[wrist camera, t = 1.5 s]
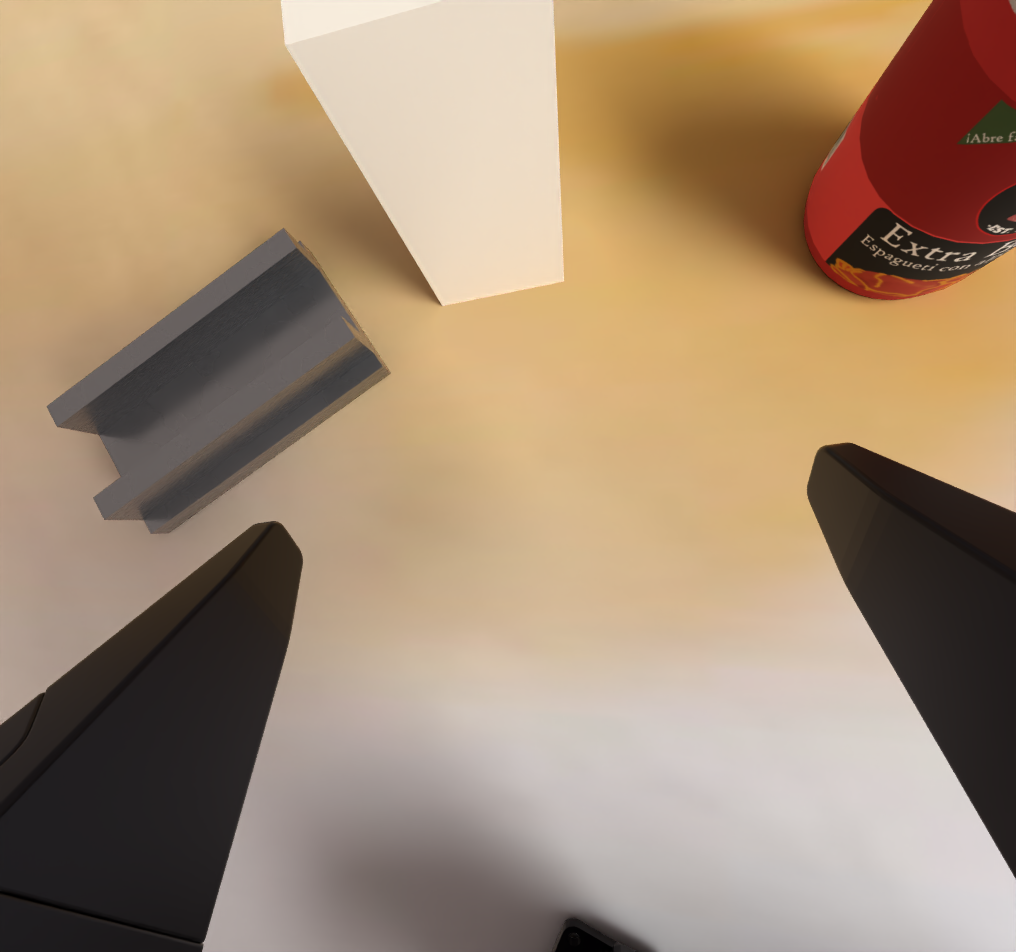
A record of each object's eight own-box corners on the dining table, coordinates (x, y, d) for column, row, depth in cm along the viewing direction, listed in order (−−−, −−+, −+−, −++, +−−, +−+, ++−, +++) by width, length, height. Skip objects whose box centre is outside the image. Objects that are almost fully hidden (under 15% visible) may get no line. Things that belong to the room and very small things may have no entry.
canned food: (803, 313, 21) (1045, 92, 10) (789, 145, 22) (1001, -223, 11) (998, 299, 20) (1494, 39, 9) (977, 124, 21) (1412, -304, 10)
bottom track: (390, 373, 23) (364, 351, 21) (168, 533, 24) (112, 534, 21) (310, 252, 25) (275, 215, 22) (101, 407, 26) (39, 392, 23)
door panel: (564, 281, 23) (551, -30, 10) (442, 306, 23) (285, 44, 11) (554, 226, 23) (532, -144, 10) (435, 252, 24) (274, -64, 11)
